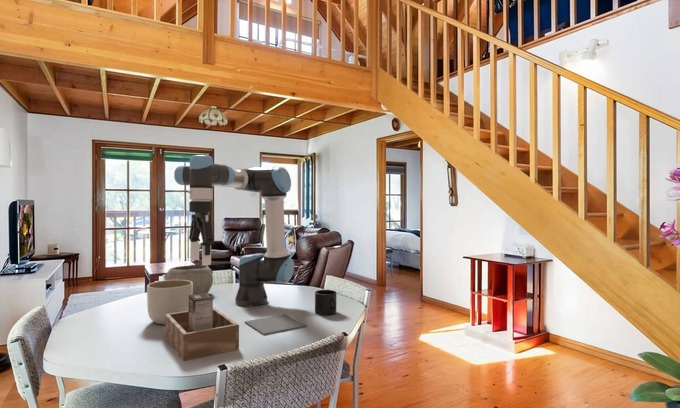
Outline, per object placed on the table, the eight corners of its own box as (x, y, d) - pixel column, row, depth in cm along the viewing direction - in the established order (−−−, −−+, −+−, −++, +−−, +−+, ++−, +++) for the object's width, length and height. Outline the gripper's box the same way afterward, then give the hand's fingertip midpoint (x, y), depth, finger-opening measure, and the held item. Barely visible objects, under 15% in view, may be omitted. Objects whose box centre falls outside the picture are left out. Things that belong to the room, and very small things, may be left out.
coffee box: (187, 340, 139) (187, 294, 138) (206, 337, 142) (206, 292, 142) (193, 348, 131) (194, 299, 131) (213, 344, 134) (213, 297, 134)
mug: (326, 318, 166) (326, 296, 166) (310, 311, 175) (310, 291, 175) (344, 314, 171) (344, 293, 171) (328, 308, 181) (328, 288, 181)
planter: (136, 324, 155) (137, 286, 155) (169, 313, 171) (169, 278, 171) (171, 330, 150) (171, 289, 149) (201, 317, 165) (201, 281, 165)
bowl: (202, 289, 220) (202, 261, 220) (220, 296, 203) (221, 267, 203) (158, 295, 204) (158, 266, 204) (175, 304, 187) (175, 272, 187)
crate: (164, 336, 142) (165, 314, 142) (213, 327, 152) (213, 307, 152) (183, 360, 121) (183, 334, 121) (238, 348, 131) (239, 324, 131)
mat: (244, 322, 159) (244, 321, 159) (285, 315, 169) (285, 314, 169) (263, 335, 144) (263, 333, 144) (306, 326, 154) (306, 325, 154)
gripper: (180, 200, 144) (180, 259, 144) (200, 200, 124) (199, 268, 124) (201, 200, 149) (201, 257, 149) (224, 200, 128) (223, 266, 128)
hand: (200, 262), depth 136 cm, fingers open, 13 cm apart
